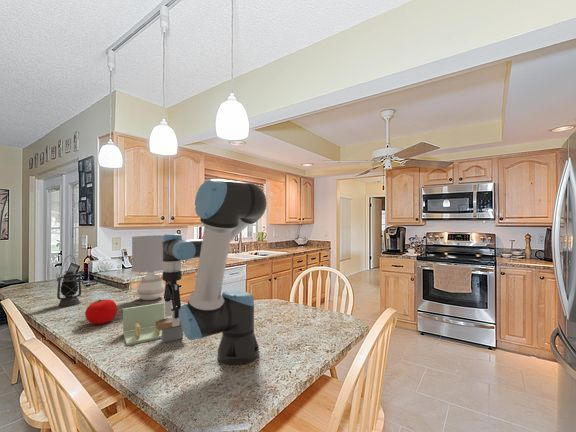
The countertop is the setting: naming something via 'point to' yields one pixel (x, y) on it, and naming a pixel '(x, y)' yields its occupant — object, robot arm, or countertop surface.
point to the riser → (172, 334)
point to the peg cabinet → (142, 323)
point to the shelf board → (164, 324)
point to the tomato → (101, 311)
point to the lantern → (69, 288)
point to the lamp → (148, 265)
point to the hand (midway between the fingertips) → (171, 320)
